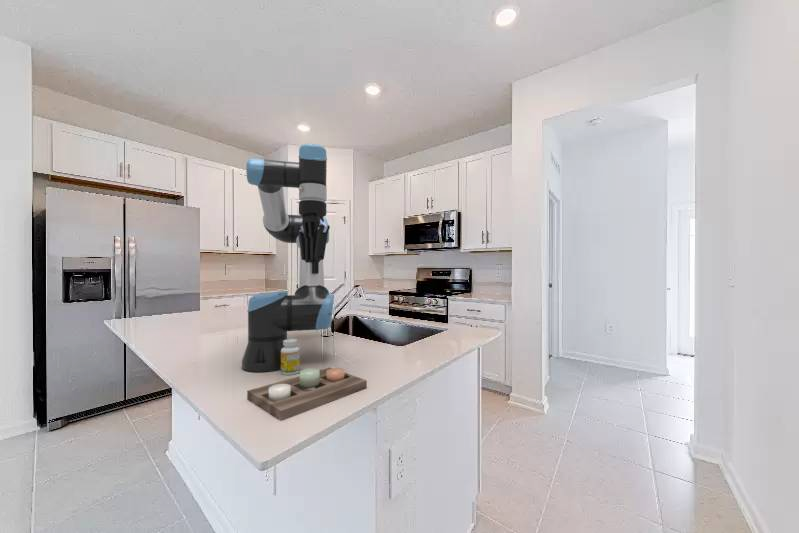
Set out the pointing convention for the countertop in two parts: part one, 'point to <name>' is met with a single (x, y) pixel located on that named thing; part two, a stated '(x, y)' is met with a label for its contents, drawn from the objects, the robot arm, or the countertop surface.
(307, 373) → the sage button
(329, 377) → the terracotta button
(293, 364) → the supplement bottle
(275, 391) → the cream button
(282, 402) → the wooden tray
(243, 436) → the countertop surface
